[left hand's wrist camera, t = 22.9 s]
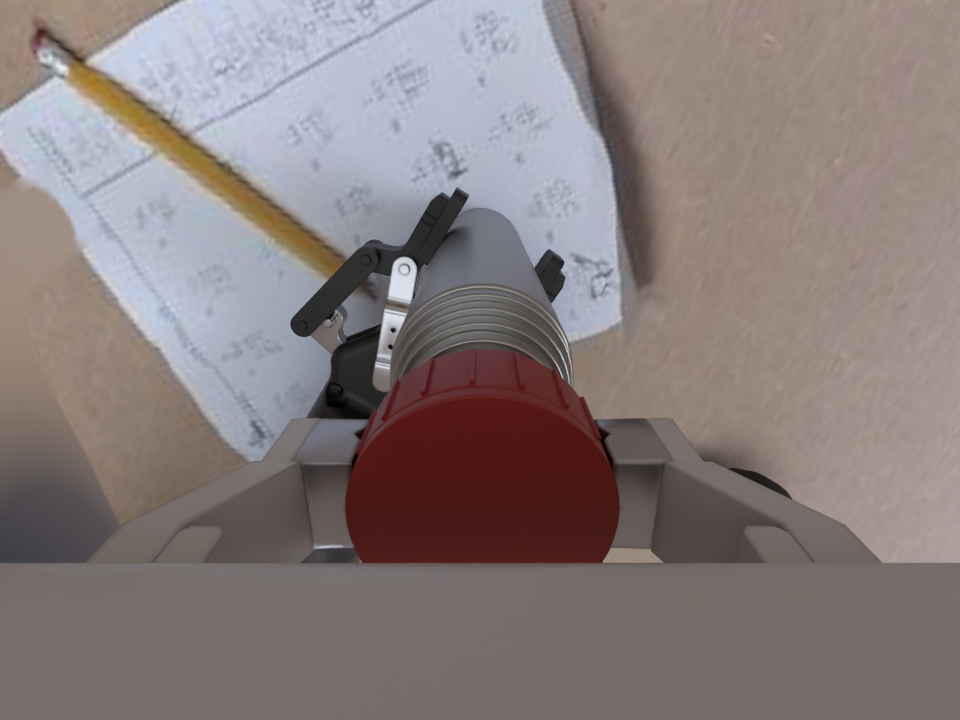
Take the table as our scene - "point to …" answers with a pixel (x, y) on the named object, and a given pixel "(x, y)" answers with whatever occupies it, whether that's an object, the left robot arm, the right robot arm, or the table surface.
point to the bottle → (481, 301)
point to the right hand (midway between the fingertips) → (509, 225)
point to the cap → (482, 468)
